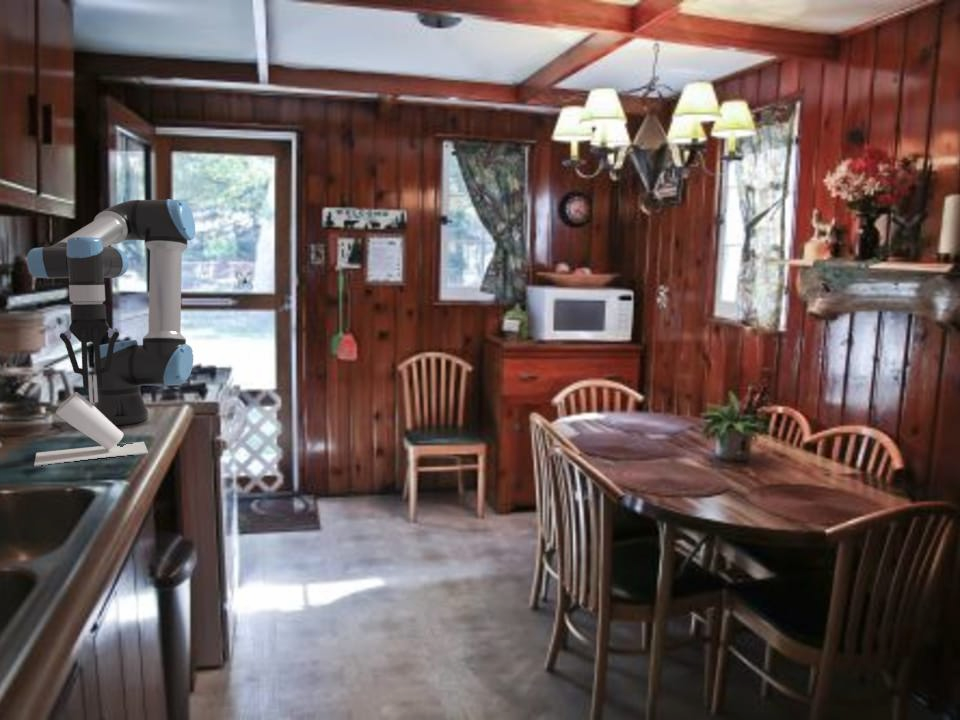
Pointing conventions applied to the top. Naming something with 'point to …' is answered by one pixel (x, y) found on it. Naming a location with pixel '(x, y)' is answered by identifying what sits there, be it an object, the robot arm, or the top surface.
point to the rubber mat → (88, 453)
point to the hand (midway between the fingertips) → (93, 401)
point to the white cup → (89, 421)
